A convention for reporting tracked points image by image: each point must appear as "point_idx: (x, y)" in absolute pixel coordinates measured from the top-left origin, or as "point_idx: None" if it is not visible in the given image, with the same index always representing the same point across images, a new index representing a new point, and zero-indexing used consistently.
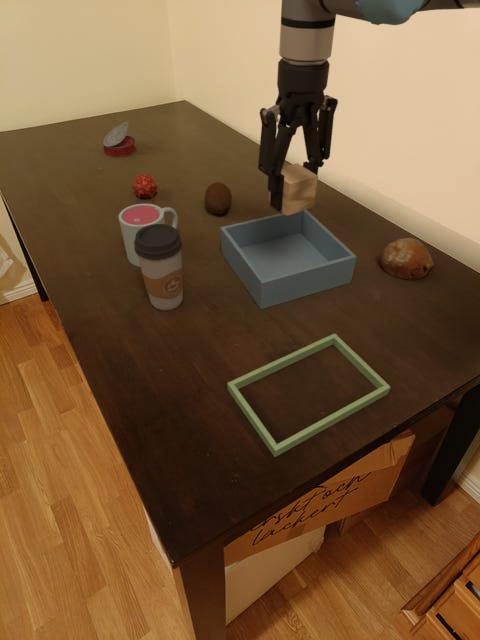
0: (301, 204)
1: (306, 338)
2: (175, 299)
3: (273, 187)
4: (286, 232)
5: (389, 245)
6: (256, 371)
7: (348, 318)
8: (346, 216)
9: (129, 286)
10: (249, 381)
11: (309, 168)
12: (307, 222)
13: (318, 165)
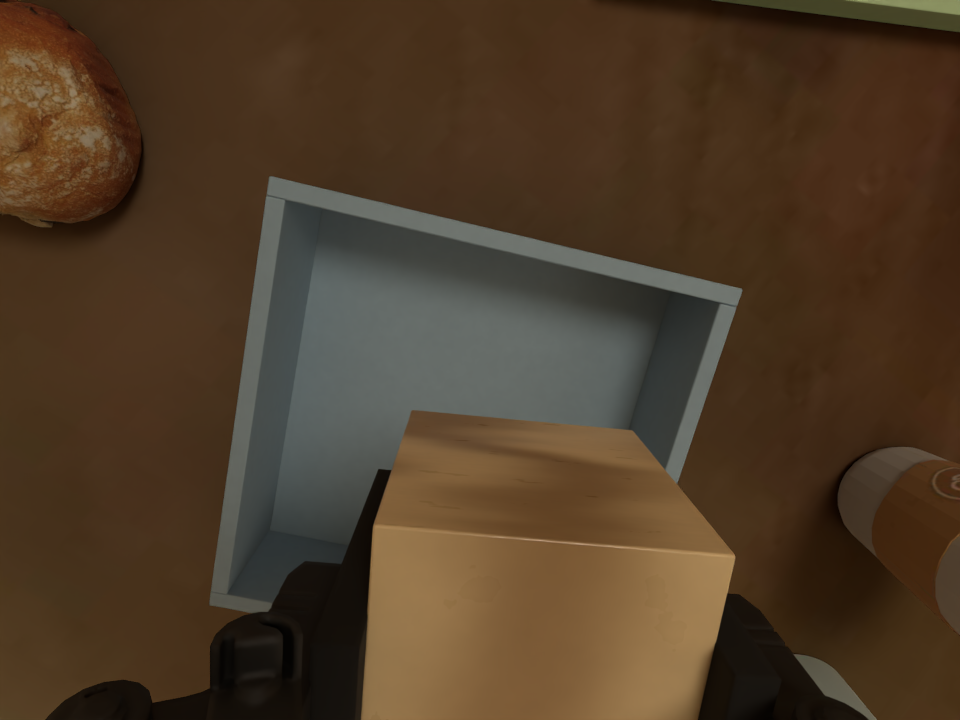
0: (526, 438)
1: (667, 58)
2: (922, 457)
3: (766, 632)
4: (330, 553)
5: (37, 189)
6: (957, 5)
7: (471, 38)
8: (19, 519)
9: (923, 612)
10: None
11: (360, 673)
12: (248, 533)
13: (299, 637)
